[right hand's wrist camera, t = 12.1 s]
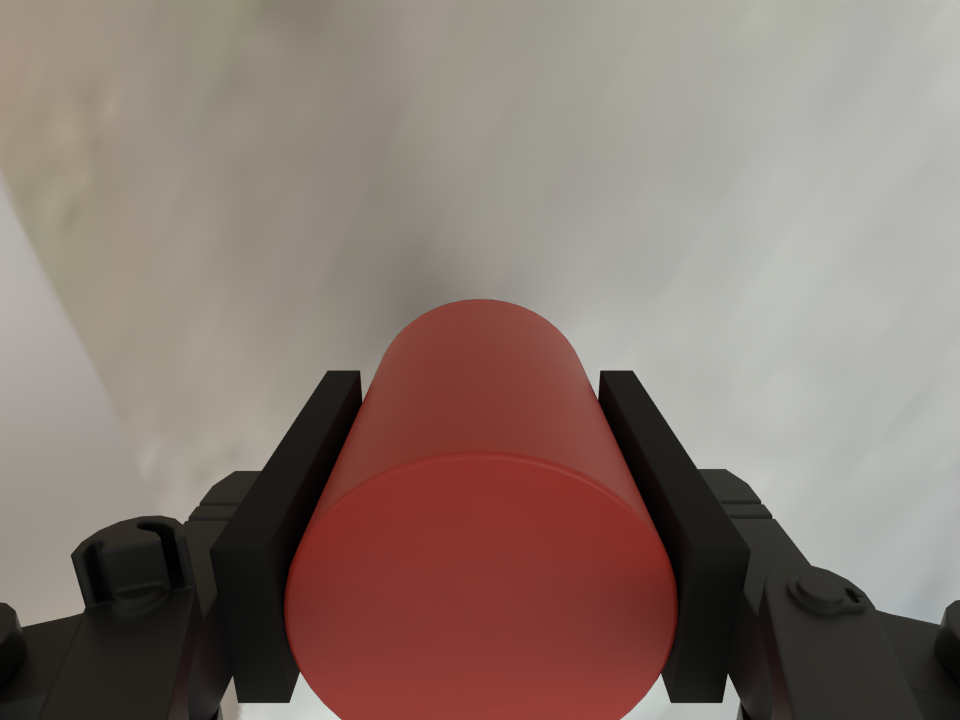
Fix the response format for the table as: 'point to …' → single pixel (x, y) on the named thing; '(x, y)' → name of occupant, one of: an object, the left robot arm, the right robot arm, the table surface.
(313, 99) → the table surface
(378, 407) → the canister
